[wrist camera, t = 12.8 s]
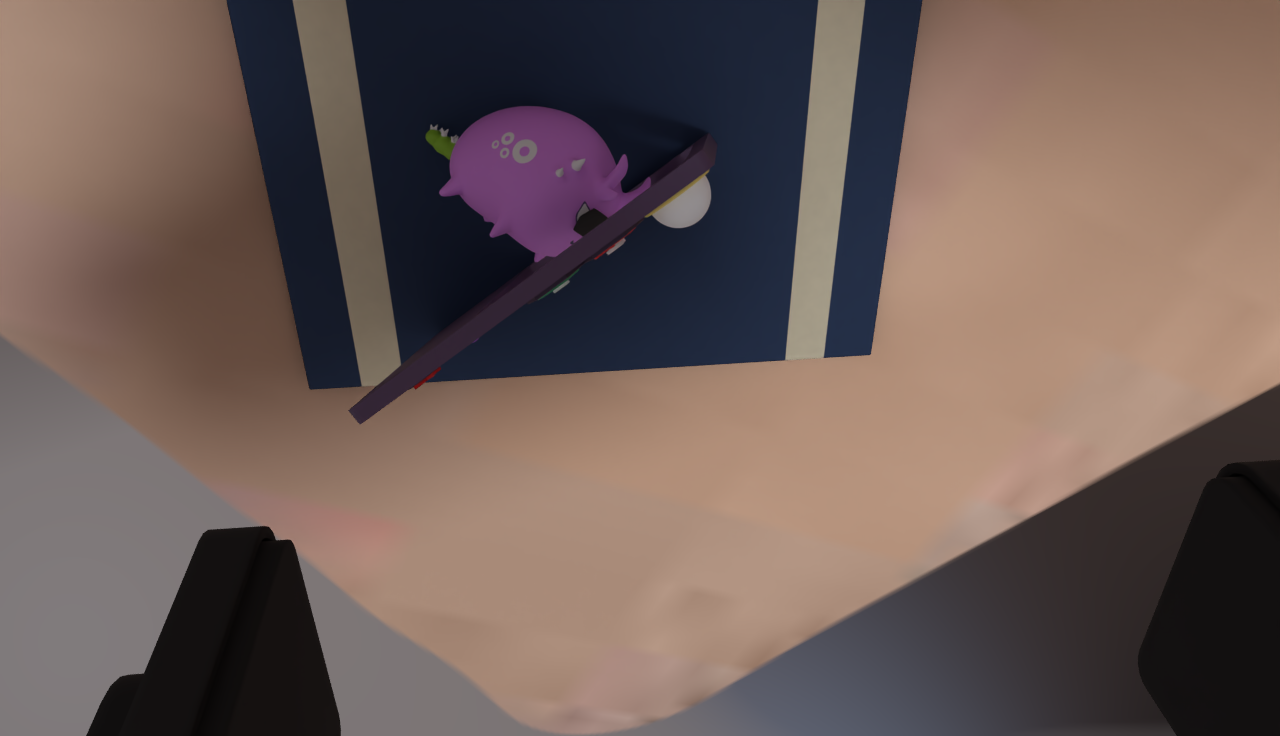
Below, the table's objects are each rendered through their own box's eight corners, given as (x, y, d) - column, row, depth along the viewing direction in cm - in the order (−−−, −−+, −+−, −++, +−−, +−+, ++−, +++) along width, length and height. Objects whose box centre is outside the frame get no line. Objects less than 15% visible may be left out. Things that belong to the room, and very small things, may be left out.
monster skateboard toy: (379, 455, 20) (737, 198, 18) (211, 252, 19) (568, -43, 17) (463, 365, 27) (734, 168, 25) (340, 210, 26) (611, -9, 24)
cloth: (930, -99, 23) (937, -96, 22) (866, 348, 29) (871, 355, 29) (212, -88, 21) (207, -85, 21) (311, 382, 27) (309, 390, 27)
